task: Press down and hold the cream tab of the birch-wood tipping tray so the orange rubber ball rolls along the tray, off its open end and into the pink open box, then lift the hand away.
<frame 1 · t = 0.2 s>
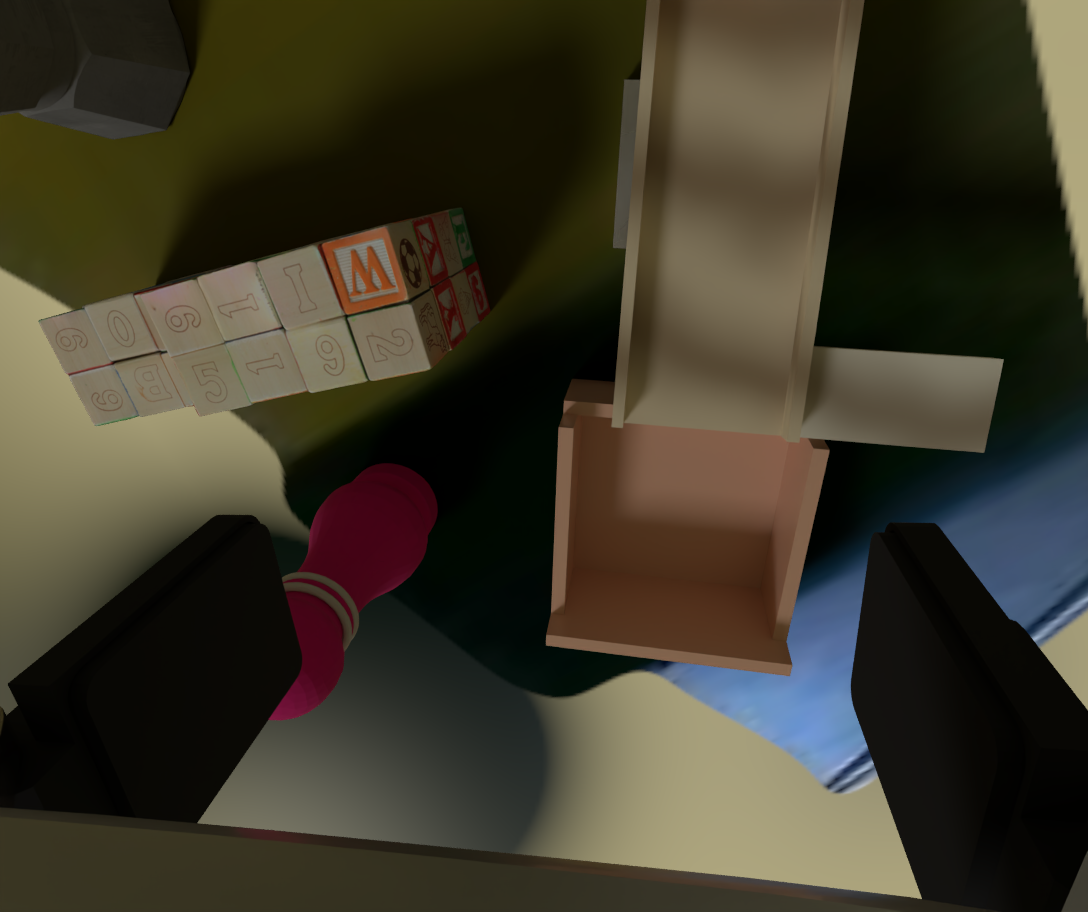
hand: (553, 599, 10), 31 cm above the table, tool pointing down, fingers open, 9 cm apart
pink open box: (675, 490, 43), on the table
tipping tray: (830, 173, 28), point 8 cm above the table, hinge at -12.0°, touching ball
pepper mill: (396, 501, 47), on the table
coffeepot: (104, 31, 37), on the table
pivot stand: (715, 170, 35), on the table
stack of blocks: (320, 296, 42), on the table
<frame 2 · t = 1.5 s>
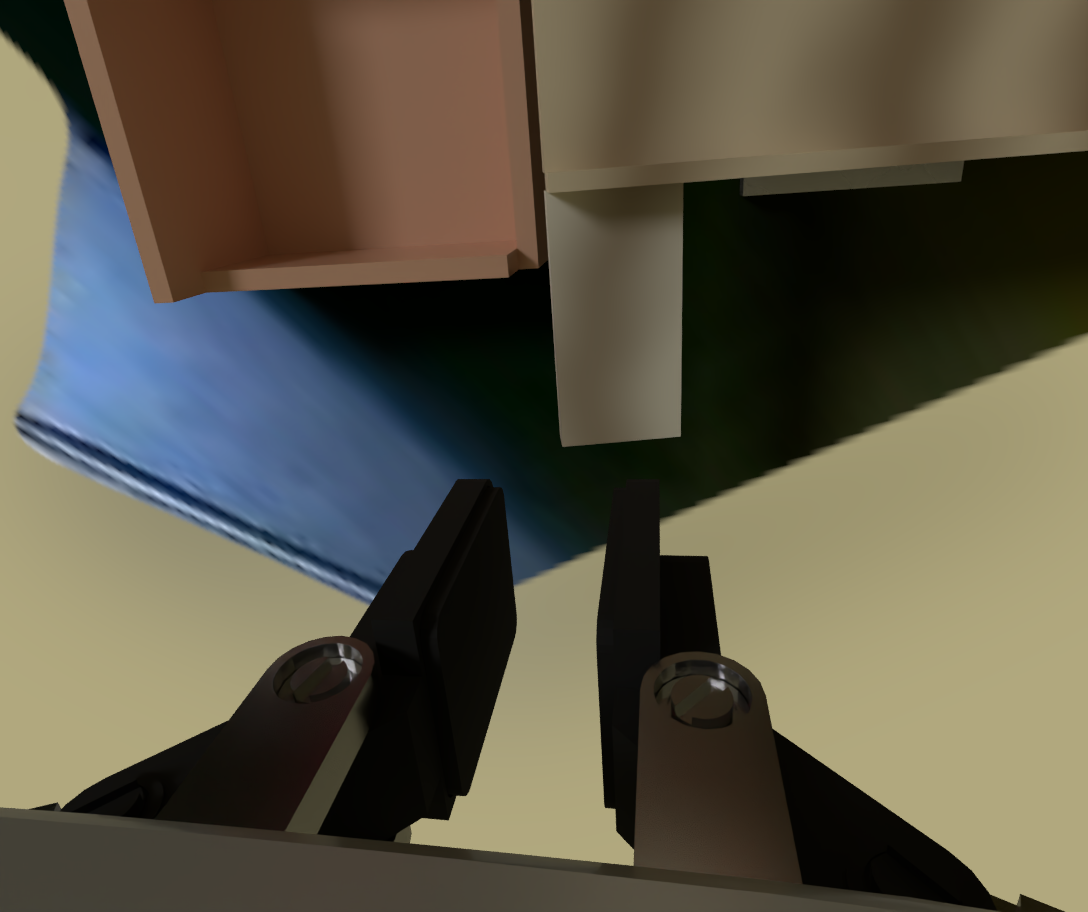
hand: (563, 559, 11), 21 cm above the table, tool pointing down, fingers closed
pink open box: (378, 93, 28), on the table
tipping tray: (920, 162, 20), point 8 cm above the table, hinge at -12.0°, touching ball
pivot stand: (855, 45, 25), on the table
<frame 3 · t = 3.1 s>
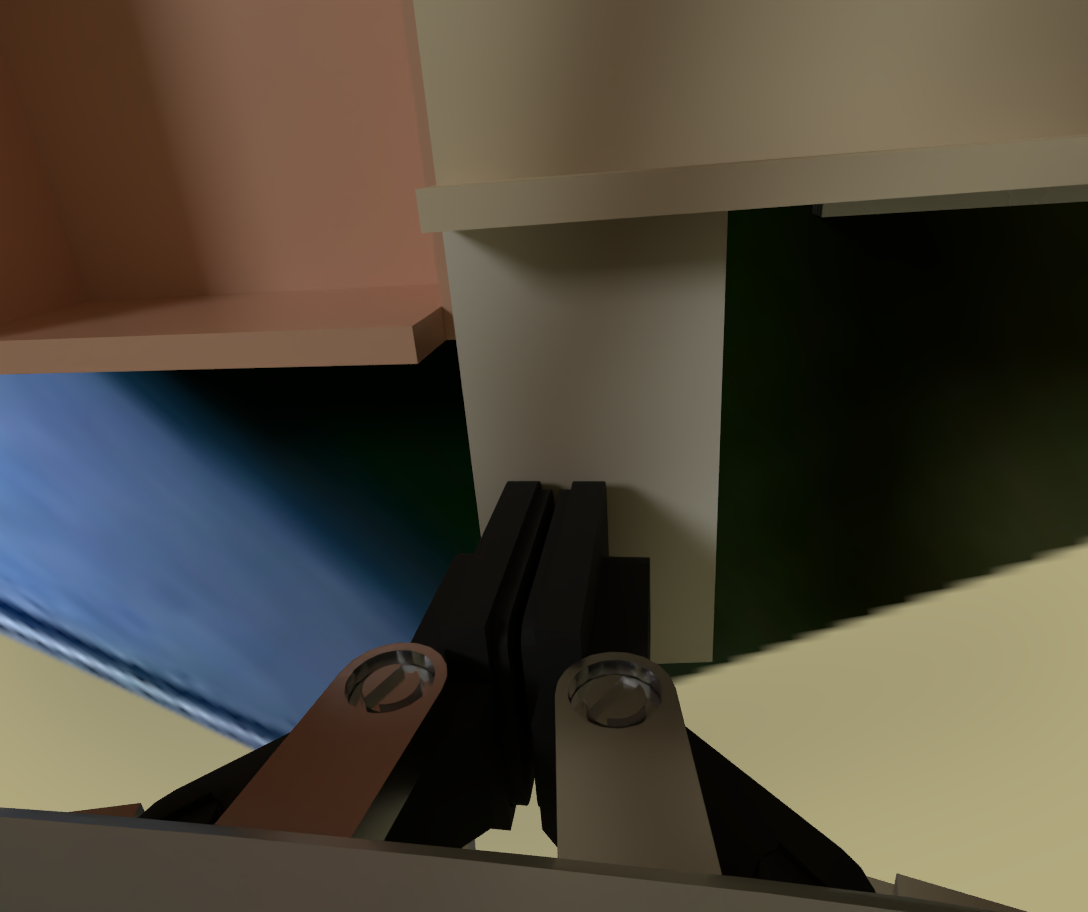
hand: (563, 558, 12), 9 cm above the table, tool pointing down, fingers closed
pink open box: (232, 50, 18), on the table
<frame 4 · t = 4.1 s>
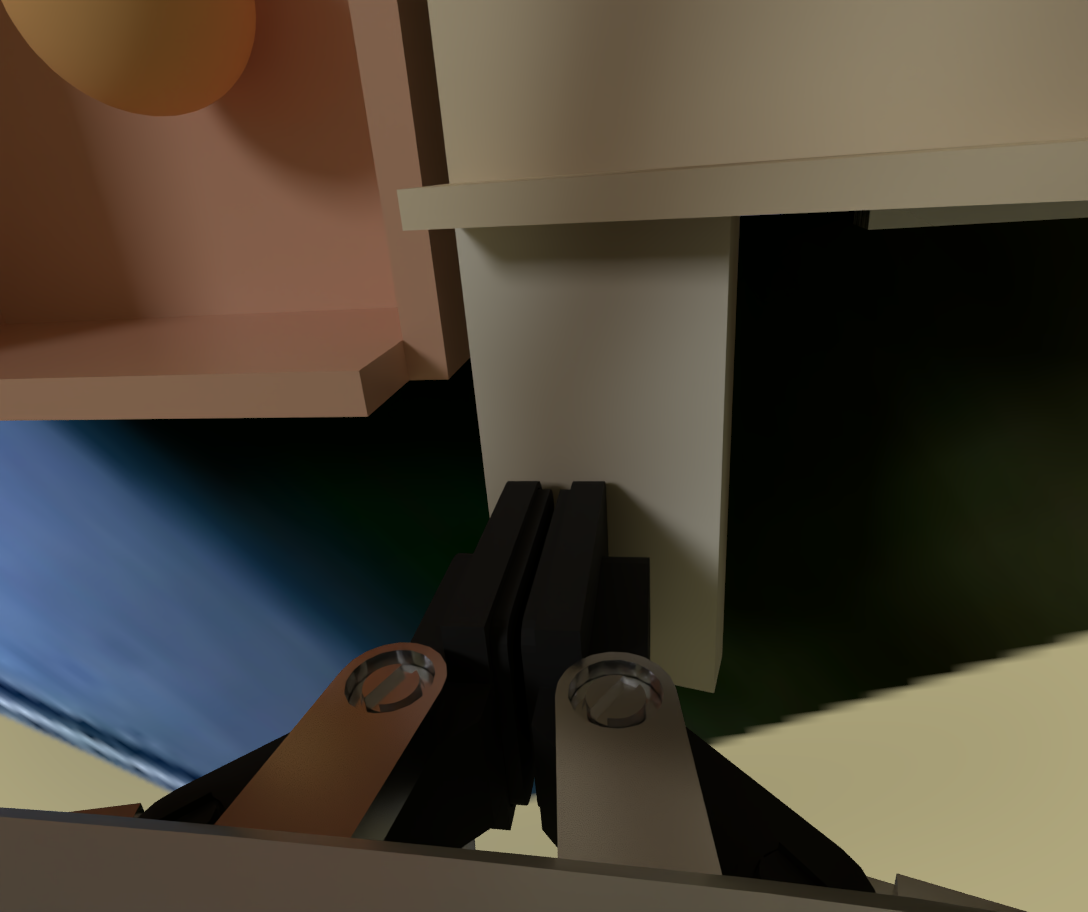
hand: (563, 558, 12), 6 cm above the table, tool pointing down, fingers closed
pink open box: (160, 30, 15), on the table
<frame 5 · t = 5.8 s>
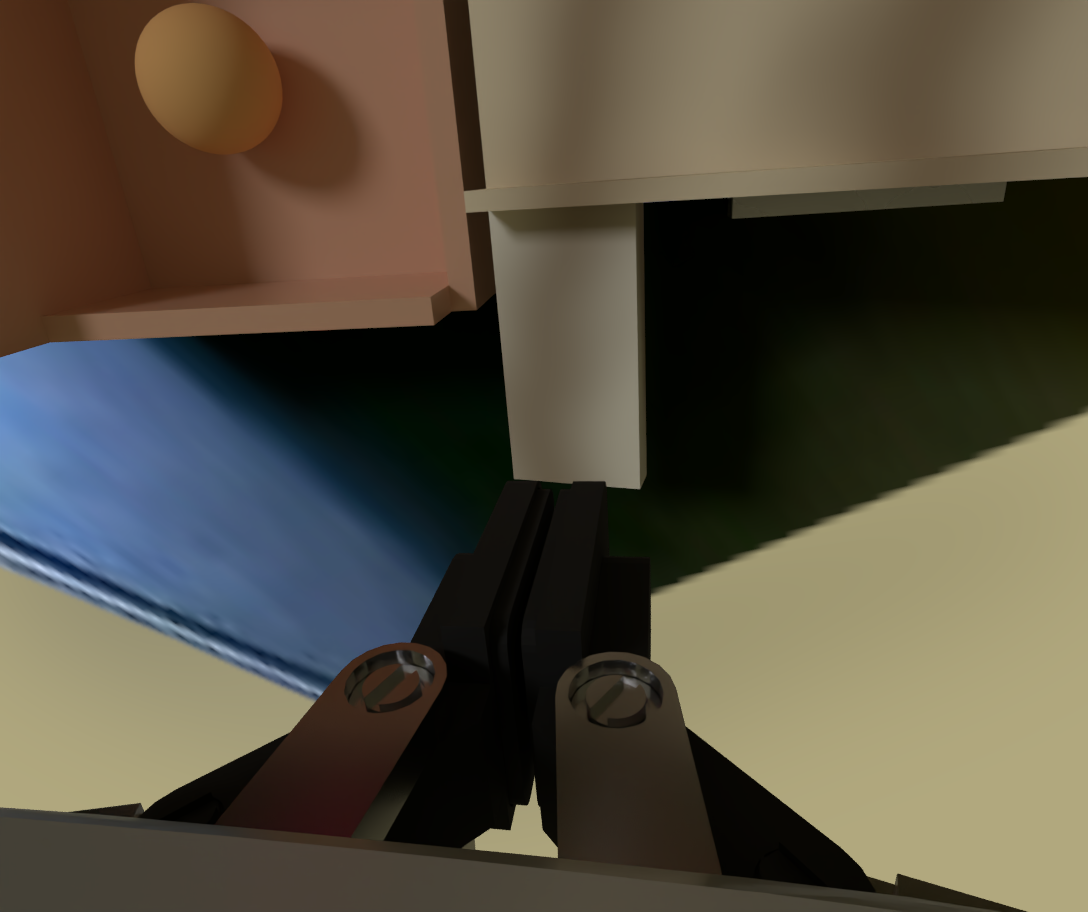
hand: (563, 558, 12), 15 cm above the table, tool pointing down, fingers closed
pink open box: (278, 89, 23), on the table
tipping tray: (957, 180, 14), point 8 cm above the table, hinge at 11.9°
pivot stand: (870, 30, 20), on the table
ball: (211, 82, 20), point 3 cm above the table, tilted 151°, touching pink open box
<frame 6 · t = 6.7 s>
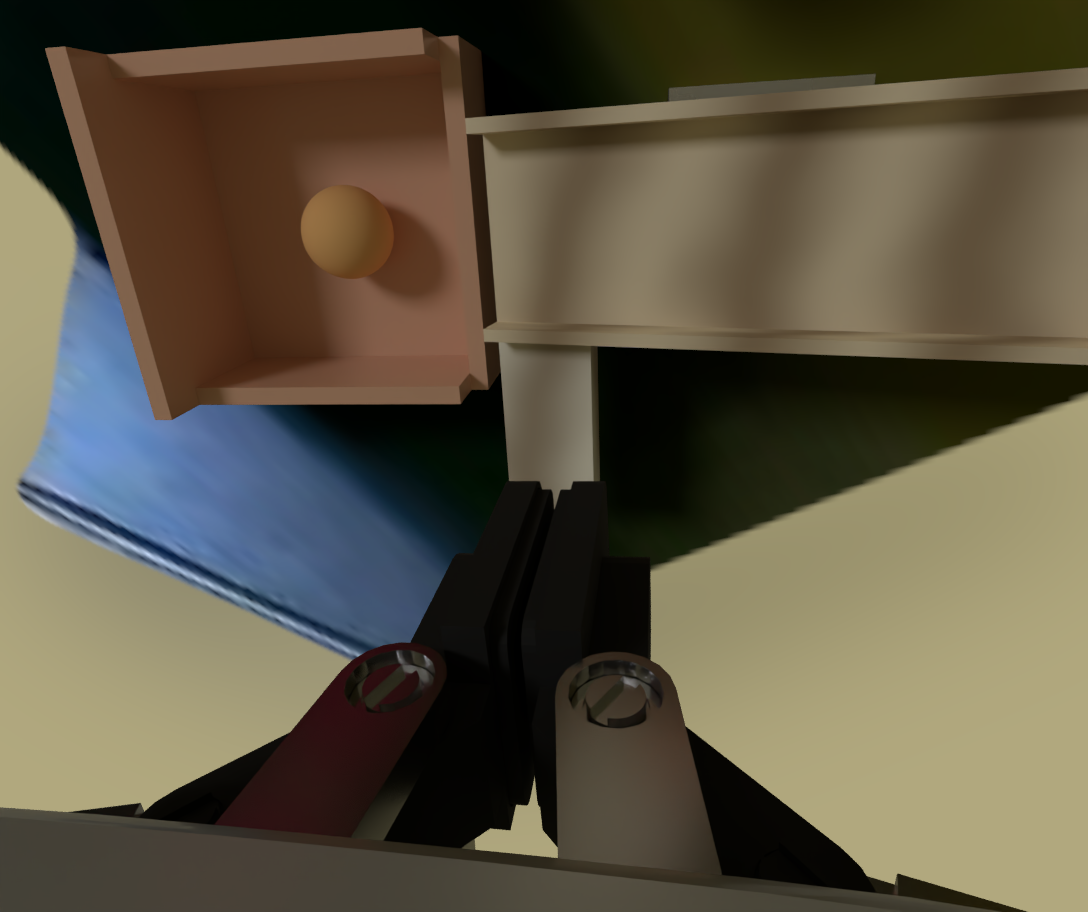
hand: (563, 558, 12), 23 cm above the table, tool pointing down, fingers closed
pink open box: (353, 228, 33), on the table
tipping tray: (775, 342, 24), point 8 cm above the table, hinge at 11.9°
pivot stand: (756, 211, 30), on the table
ball: (348, 232, 30), point 3 cm above the table, tilted 104°, touching pink open box
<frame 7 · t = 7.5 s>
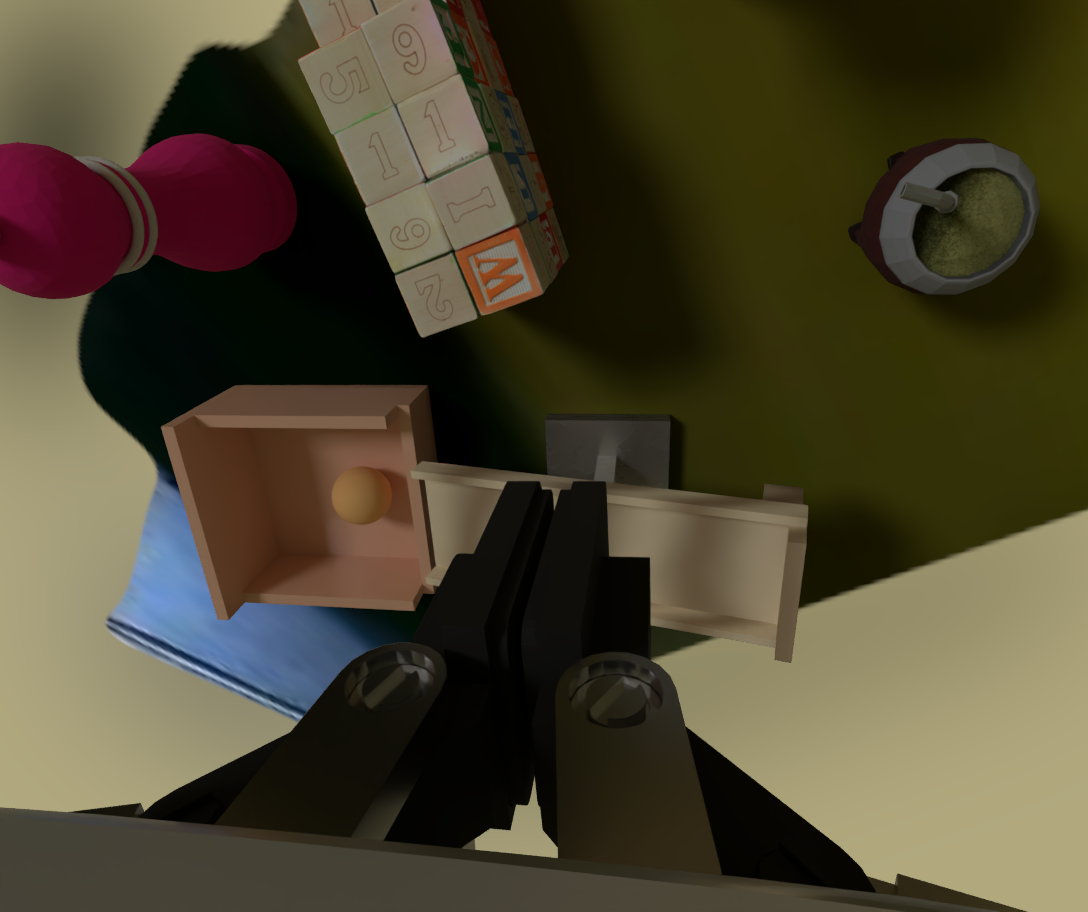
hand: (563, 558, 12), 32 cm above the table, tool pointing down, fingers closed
pink open box: (346, 477, 49), on the table
tipping tray: (598, 600, 41), point 8 cm above the table, hinge at 11.9°
pepper mill: (252, 199, 42), on the table
mate gourd: (896, 210, 37), on the table
pivot stand: (608, 482, 46), on the table
ball: (362, 495, 46), point 3 cm above the table, tilted 63°, touching pink open box
stack of blocks: (457, 92, 38), on the table
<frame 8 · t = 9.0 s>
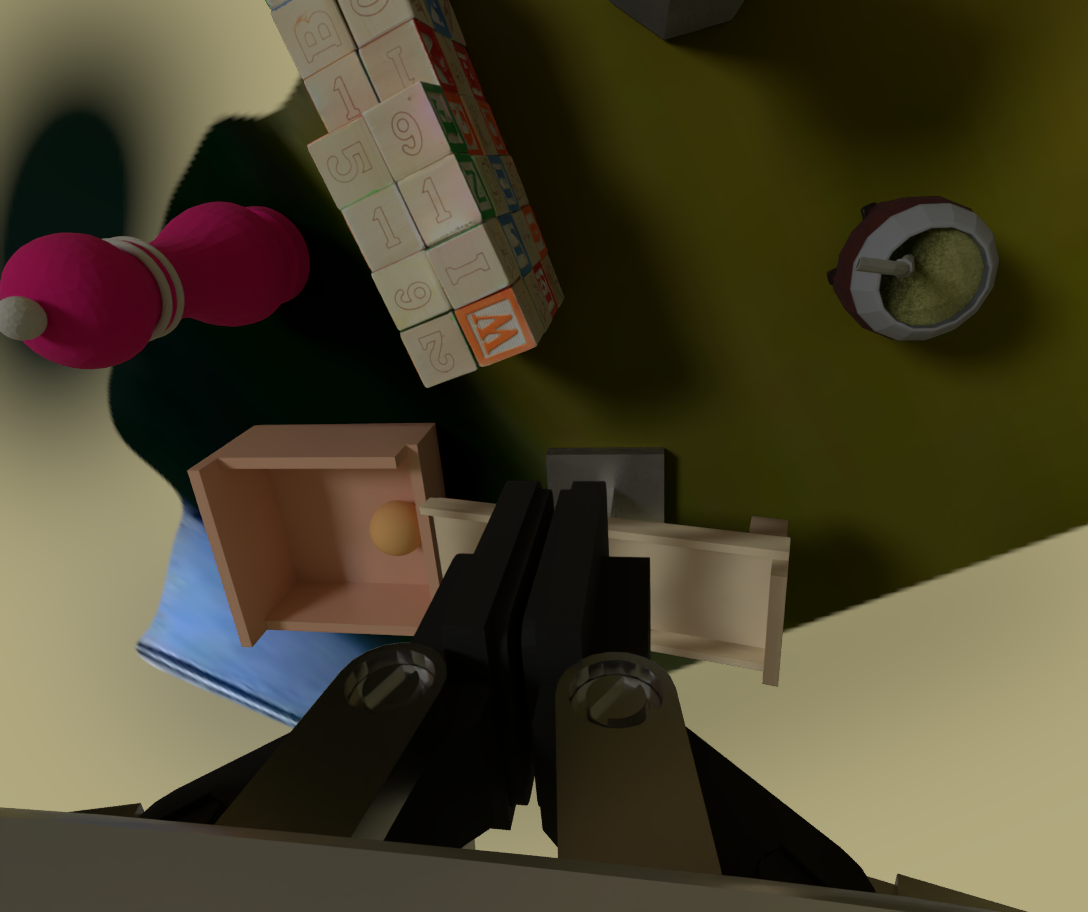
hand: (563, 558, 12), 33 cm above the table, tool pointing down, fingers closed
pink open box: (360, 509, 52), on the table
tipping tray: (598, 626, 43), point 8 cm above the table, hinge at 11.9°
pepper mill: (268, 255, 45), on the table
mate gourd: (872, 255, 39), on the table
pivot stand: (607, 511, 48), on the table
ball: (398, 528, 48), point 3 cm above the table, tilted 13°, touching pink open box
stack of blocks: (455, 151, 41), on the table
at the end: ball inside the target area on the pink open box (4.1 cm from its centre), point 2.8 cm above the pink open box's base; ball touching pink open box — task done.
